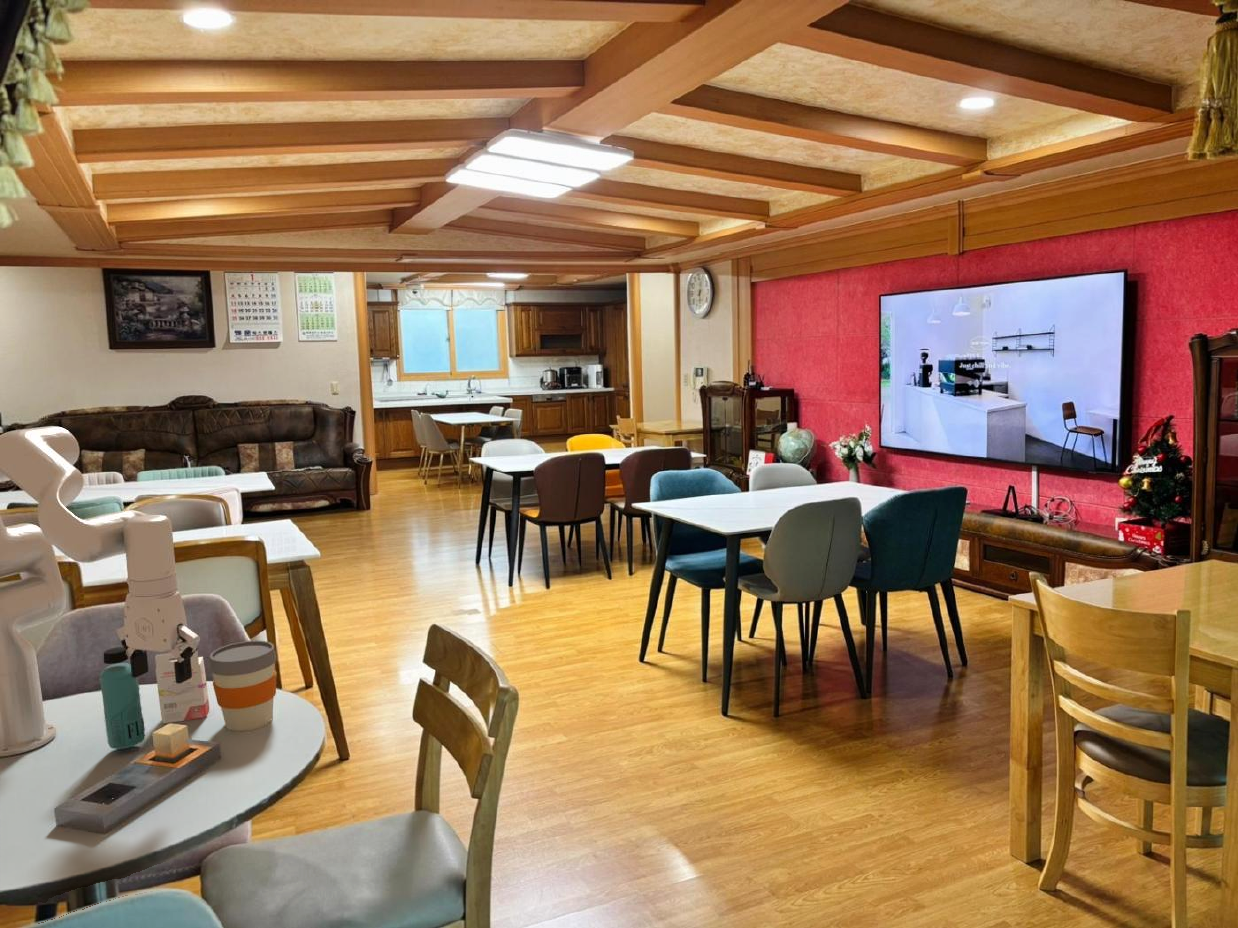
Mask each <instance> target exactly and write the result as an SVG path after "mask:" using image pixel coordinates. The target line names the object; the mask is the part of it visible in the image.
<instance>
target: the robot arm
mask: <svg viewBox="0 0 1238 928" xmlns="http://www.w3.org/2000/svg"><path fill="white" fill-rule="evenodd" d="M79 456H80V446H79V442H78V440H77V439H76V437H75V436H74V435H73V434H72V433H71V432H70V431H69V430H67V429H66V428H63V427H60V426H57V425H56V426H55V425H49V426H48V425H47V426H40V427H32V428H23V429H16V430H10V431H7V432H5V433H2V434H0V483H2V482H7V481H11V482H13V483H14V484H15V485H16V486H18V487H19V488H20V489H21V490H22V491H23V492H25V493H26V494H27V495H29V497H31V498H32V499H33V500H34V501H35V502H37V503H38V504H37V505H38V506H37V519H38V524H39V526H38V525H36V524H32V523H26V522H25V523H19V524H14V525H13V524H12V525H9V526H5V525H4V522H3V519H2V516H1V514H0V579H2V578H3V579H4V578H6V577H10V576H13V575H17V574H19V575H20V578H21V579H19V580H16V581H13V582H8V583H5V584H4V583H3V584H1V585H0V758H1V757H10V756H14V755H19V754H23V753H26V752H29V751H32V750H34V749H37V748H39V747H42V746H44V745H45V744H48V743H50V742H51V741H52V740H53V739H54V738H55V737H56V735H57V729H56V726H54V725H52V724H50V723H46V717H45V711H44V710H45V709H44V702H43V695H42V689H41V688H42V687H41V682H40V681H41V680H40V674H39V668H38V667H39V666H38V660H37V653H36V651H35V649H34V646H33V645H32V644H31V643H30V642H29V641H28V640H26V638H24V637H23V636H22V634H21V632H22V631H25V630H27V629H30V628H33V627H36V626H39V625H41V624H44V623H47V622H49V621H52V620H54V619H56V618H59V616H61V615H62V613H63V612H64V611H65V608H66V605H67V595H66V594H67V593H66V590H65V586H64V581H63V579H62V575H61V571H60V568H59V564H58V559H57V557H56V553H55V549H54V547H55V548H56V549H58V551H60V552H61V553H62V554H63V555H64V556H66V557H68V558H69V559H71V560H73V561H75V562H77V563H83V564H89V563H91V564H92V563H94V562H98V561H101V560H106V559H108V558H109V559H110V558H112V557H115V556H119V555H124V554H125V558H126V570H127V579H126V583H127V585H128V591H129V593H127V594H126V597H125V601H124V614H123V615H124V617H123V618H124V619H123V622H124V626H122V627H119V628H118V629H117V630H116V633H117V635H118V638H119V639H120V643H121V646H122V647H124V648H125V649H126V650H127V651H126V654H127V655H128V657H129V664H131V673H132V677H133V678H136V677H137V678H138V677H141V676H142V675H144V674H147V673H148V672H149V664H148V663H149V661H148V653H147V652H152V653H160V654H161V653H162V654H167V653H172V654H173V656H174V657H175V658H174V659H175V660H177V661H176V662H174V668H175V679H176V683H178V684H180V683H182V682H184V681H186V680H188V679H190V678H191V677H192V670H191V659H190V658H191V657H193V655H194V653H195V652H196V650H197V651H198V646H199V644H200V641H201V637H200V636H199V635H198V634H197V633H196V632H194V631H192V630H191V629H190V628H188V623H187V616H186V611H185V607H184V606H185V605H184V603H183V598H182V595H181V592H180V591H178V579H177V578H178V577H177V568H176V560H175V559H176V557H175V548H174V547H175V546H174V537H173V526H172V521H171V520H170V518H169V517H168V516H166V515H163V514H146V513H144V512H141V511H138V510H134V509H125V510H120V511H115V512H110V513H105V514H100V515H96V516H93V517H88V518H84V519H81V518H79V517H78V516H76V515H75V514H74V513H72V512H71V511H70V510H69V509H68V508H67V506H69V505H70V504H71V503H72V502H74V501H75V500H76V499H77V498H78V496H79V495H80V493H81V492H82V489H83V488H84V483H85V478H84V476H83V473H82V472H81V471H80V470H79V469H78V468H76V467H75V466H74V465H75V464H76V462H77V461H78V459H79ZM53 546H54V547H53ZM179 649H180V650H181V651H183V652H182V653H181V651H180V650H179Z"/></svg>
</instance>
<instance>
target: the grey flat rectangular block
mask: <svg viewBox="0 0 1238 928" xmlns="http://www.w3.org/2000/svg"><path fill="white" fill-rule="evenodd" d="M189 746H190V754H189V755H188V756H186V757H185V758H183V759H181V760H180V761H178V762H176V763H175V764H170V763H163V762H156V759H155V751H154V750H152V751H150V752H148V753H146V754H145V755H143V756H140V757H139V758H138V759H136V760H134V761H133V762H132V763H129V764H128V765H127V766H125V767H122V768H121V769H119V770H117V771H116V772H114V773H113V774H111V775H109V776H107V777H106V778H104V779H102V780H101V781H99V782H97V783H95V784H94V785H92V786H90V787H88V788H87V789H85V790H83V791H81V792H80V793H78V794H77V795H75V796H73V797H71V798H69V799H68V800H66V801H64V802H63V803H61V804H59V805H58V806H56V807H54V809H53V811H54V817H55V824H56V825H55V826H57V827H63V828H68V829H74V830H81V831H85V832H86V831H87V832H92V833H93V832H94V833H99V834H103V835H104V834H107V833H108V832H110V831H111V830H113V829H114V828H116V827H117V826H119V825H120V824H122V823H123V822H125V821H127V820H128V819H129V818H131V817H134V816H135V815H136V814H138V813H140V812H141V811H142V810H143V809H145V808H147V807H148V806H149V805H152V804H153V803H155V802H156V801H158V800H159V799H160V798H162V797H164V796H166V795H167V794H168V793H170V792H172V791H173V790H175V789H176V788H177V787H179V786H180V785H182V784H184V783H185V782H187V781H188V780H190V779H192V777H195V776H196V775H198V774H199V773H201V772H203V771H204V770H205V769H207V768H209V767H210V766H211V765H214V764H215V763H216V762H218V761H219V760H221V759H222V753H221V743H220V742H216V741H215V742H213V741H208V740H207V741H206V740H198V739H190V738H189ZM163 795H164V796H163ZM112 798H113V799H112ZM110 799H111V800H113V802H111V803H109V804H106V803H108V802H109V800H110ZM115 799H117V800H115ZM111 800H110V801H111ZM107 801H108V802H107ZM103 803H105V804H103Z"/></svg>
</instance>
